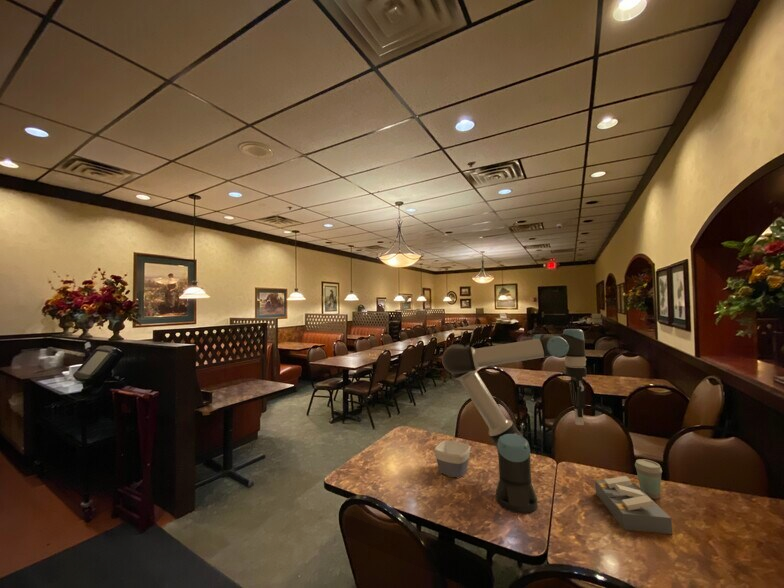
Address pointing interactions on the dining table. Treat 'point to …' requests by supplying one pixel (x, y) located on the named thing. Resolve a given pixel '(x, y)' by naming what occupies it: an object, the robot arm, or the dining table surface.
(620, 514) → the switch unit
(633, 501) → the rocker
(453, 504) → the dining table surface
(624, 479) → the rocker
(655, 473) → the coffee cup
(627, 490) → the rocker
